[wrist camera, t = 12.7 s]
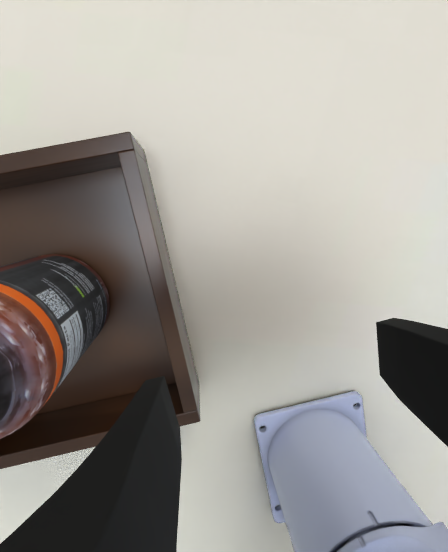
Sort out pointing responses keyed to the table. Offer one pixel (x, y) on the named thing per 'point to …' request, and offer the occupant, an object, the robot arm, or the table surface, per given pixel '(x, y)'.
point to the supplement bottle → (44, 330)
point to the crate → (116, 276)
